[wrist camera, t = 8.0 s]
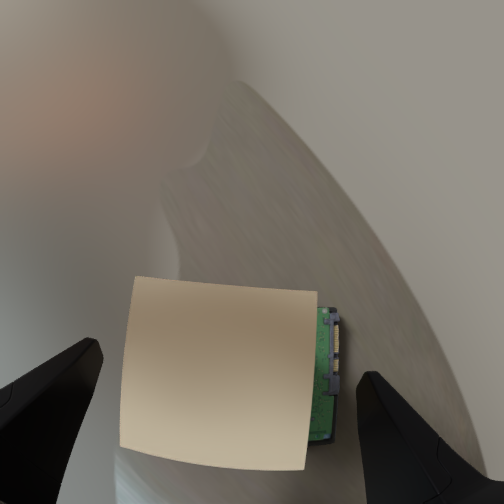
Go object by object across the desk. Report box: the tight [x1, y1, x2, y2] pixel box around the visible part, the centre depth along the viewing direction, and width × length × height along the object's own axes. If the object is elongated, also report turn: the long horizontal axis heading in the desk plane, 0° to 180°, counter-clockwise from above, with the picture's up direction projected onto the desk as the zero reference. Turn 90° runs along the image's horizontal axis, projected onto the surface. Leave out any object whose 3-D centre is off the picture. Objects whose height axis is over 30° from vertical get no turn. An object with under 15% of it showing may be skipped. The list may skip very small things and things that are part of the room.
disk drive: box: [307, 307, 340, 446], centre depth 18 cm, size 10×3×15 cm
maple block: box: [120, 276, 317, 470], centre depth 11 cm, size 4×4×12 cm
